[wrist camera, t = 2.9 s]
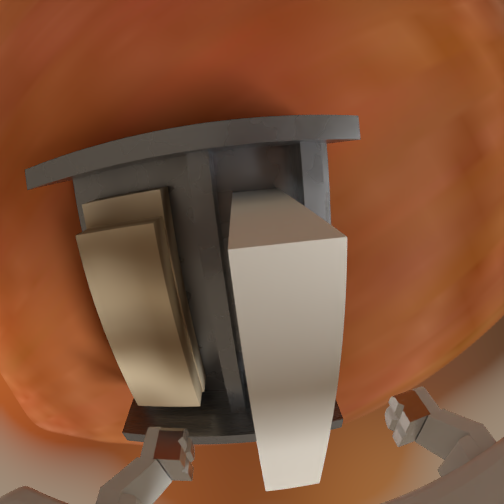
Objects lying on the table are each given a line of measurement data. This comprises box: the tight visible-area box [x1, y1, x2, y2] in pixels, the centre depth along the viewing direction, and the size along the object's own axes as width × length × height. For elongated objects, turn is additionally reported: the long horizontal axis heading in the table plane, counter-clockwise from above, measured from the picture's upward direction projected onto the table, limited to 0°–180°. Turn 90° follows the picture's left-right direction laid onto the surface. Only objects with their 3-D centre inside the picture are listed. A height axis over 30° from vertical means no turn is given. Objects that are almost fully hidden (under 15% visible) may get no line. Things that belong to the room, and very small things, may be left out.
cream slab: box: [228, 188, 347, 491], centre depth 15 cm, size 14×3×12 cm, turn 6°
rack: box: [25, 115, 360, 444], centre depth 19 cm, size 22×18×7 cm
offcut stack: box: [76, 186, 206, 407], centre depth 18 cm, size 16×6×4 cm, turn 6°
